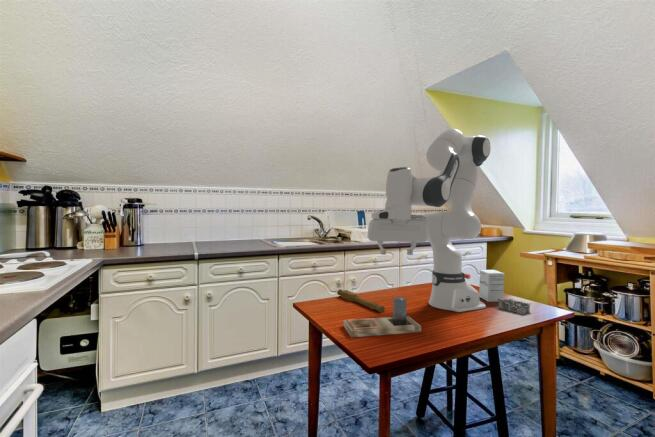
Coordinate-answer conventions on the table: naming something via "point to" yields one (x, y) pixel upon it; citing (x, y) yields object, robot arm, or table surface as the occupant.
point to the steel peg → (399, 311)
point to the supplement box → (491, 285)
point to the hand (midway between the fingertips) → (396, 254)
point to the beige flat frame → (379, 326)
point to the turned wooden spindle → (360, 300)
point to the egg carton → (514, 306)
